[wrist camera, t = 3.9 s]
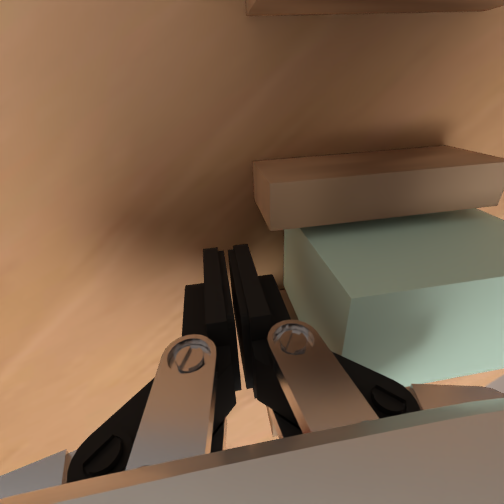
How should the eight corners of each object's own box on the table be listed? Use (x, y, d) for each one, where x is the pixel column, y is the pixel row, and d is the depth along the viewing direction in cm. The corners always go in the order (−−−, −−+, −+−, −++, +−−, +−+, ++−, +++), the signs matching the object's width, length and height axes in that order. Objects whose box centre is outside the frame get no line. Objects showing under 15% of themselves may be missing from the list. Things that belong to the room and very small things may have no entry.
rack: (501, -53, 9) (630, -114, 6) (382, 364, 18) (412, 408, 16) (243, -56, 8) (265, -129, 5) (262, 385, 17) (273, 436, 15)
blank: (437, 191, 13) (602, 261, 7) (414, 266, 15) (532, 363, 9) (284, 207, 12) (351, 299, 7) (283, 284, 14) (333, 400, 9)
